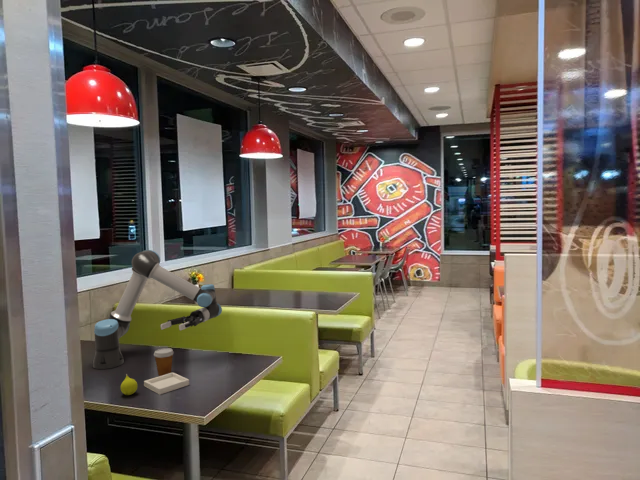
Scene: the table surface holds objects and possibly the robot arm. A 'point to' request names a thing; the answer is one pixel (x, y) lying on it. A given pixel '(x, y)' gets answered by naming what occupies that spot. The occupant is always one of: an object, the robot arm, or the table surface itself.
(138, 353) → the table surface
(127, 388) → the ornament
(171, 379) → the square tray
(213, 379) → the table surface
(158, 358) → the disposable coffee cup
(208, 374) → the table surface
